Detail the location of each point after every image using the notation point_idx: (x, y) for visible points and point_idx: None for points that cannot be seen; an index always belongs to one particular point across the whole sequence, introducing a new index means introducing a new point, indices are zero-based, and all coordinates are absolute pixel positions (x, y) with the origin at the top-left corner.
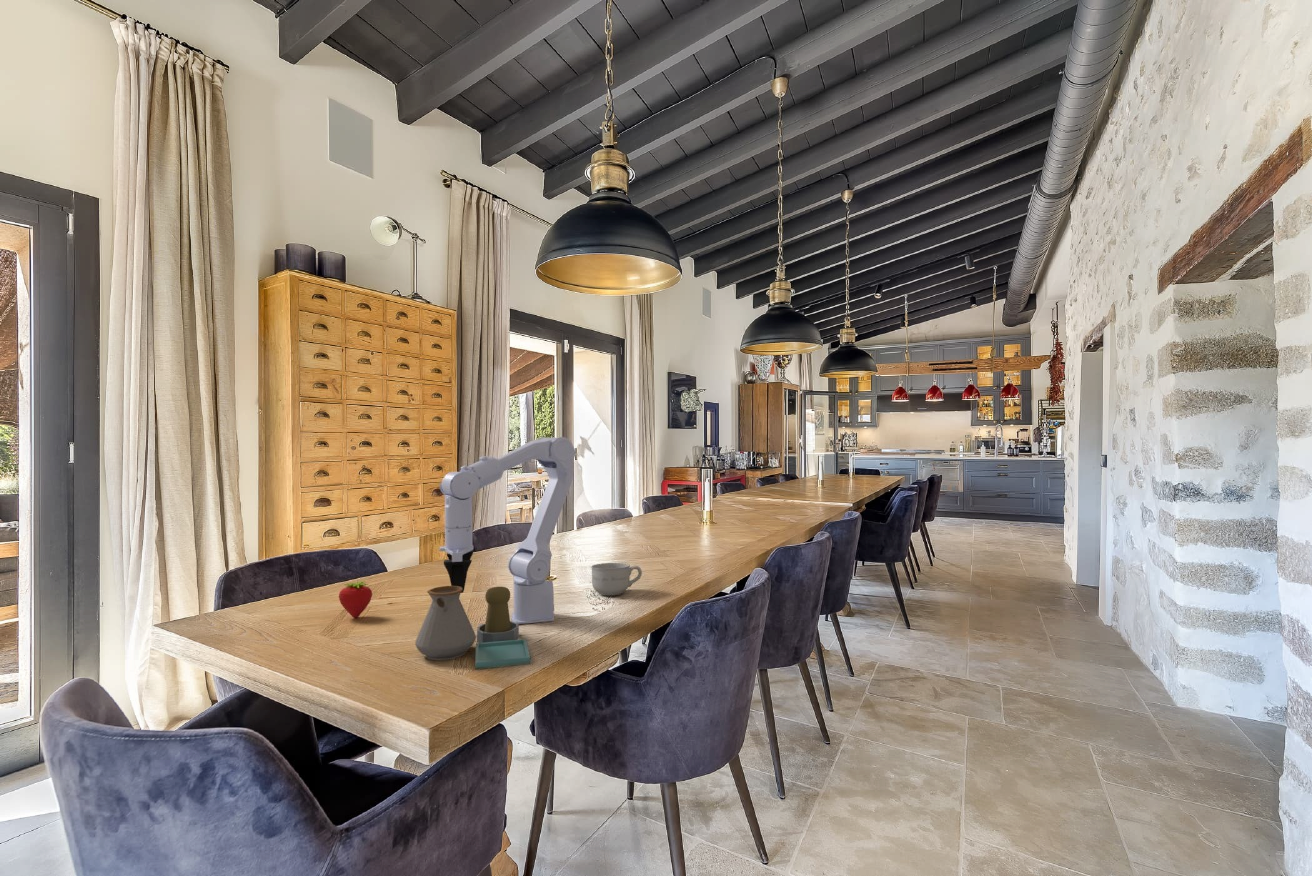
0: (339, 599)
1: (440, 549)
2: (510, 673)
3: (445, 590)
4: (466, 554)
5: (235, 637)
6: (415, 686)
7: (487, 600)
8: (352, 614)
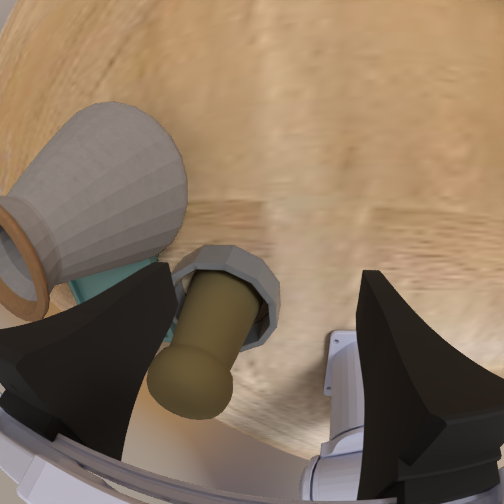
0: None
1: (26, 477)
2: (59, 291)
3: (36, 254)
4: (365, 492)
5: None
6: (7, 156)
7: (164, 351)
8: None
